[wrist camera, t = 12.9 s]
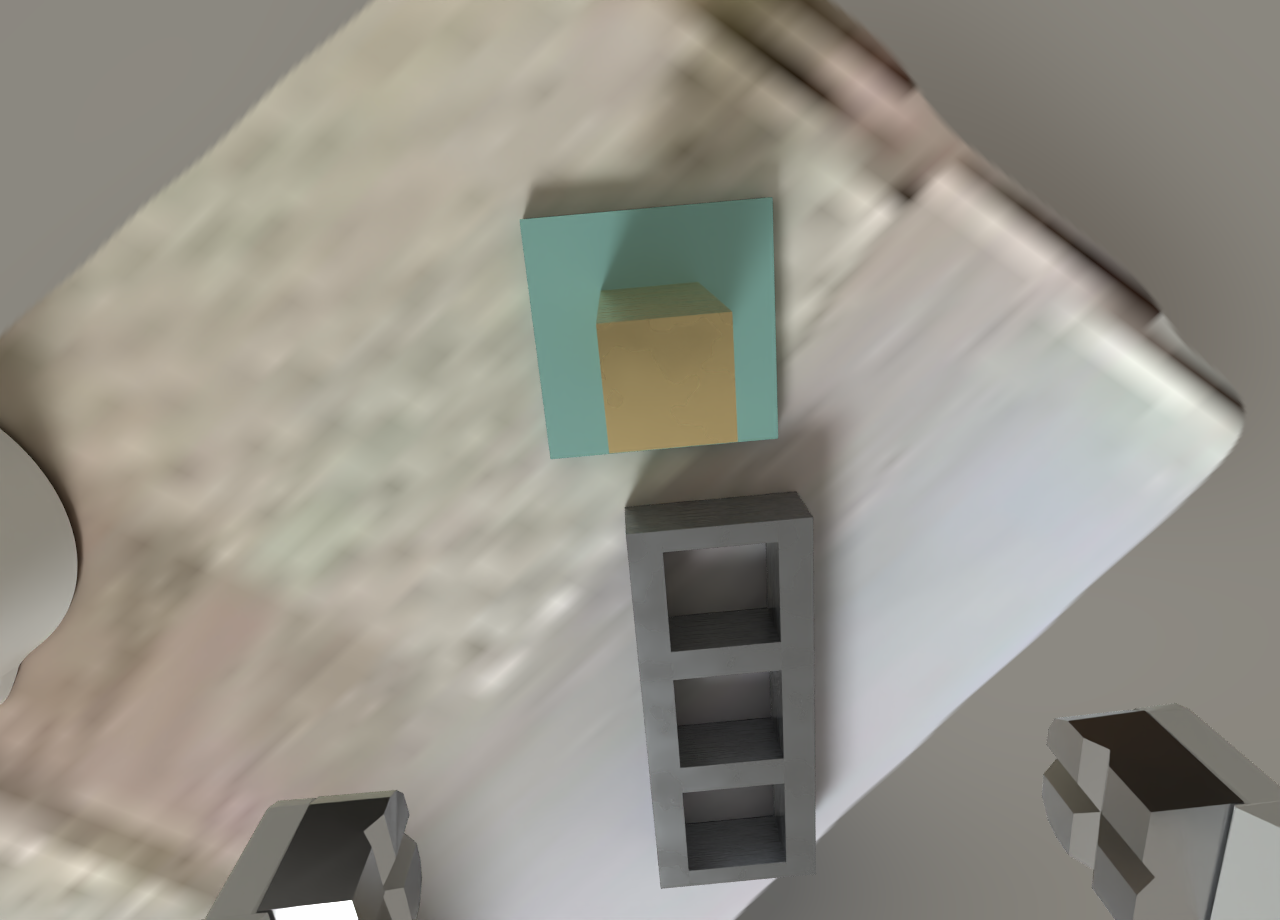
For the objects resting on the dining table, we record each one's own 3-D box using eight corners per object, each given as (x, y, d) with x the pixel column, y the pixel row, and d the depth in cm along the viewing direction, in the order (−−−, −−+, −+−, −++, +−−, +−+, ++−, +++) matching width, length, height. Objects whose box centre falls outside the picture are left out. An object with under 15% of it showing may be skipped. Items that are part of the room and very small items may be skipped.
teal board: (552, 452, 33) (550, 459, 32) (522, 219, 30) (519, 219, 29) (773, 431, 33) (778, 438, 32) (767, 197, 30) (772, 197, 29)
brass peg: (609, 386, 31) (609, 453, 23) (600, 290, 30) (595, 323, 22) (703, 378, 31) (737, 441, 23) (698, 281, 30) (732, 311, 22)
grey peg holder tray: (657, 841, 41) (660, 888, 38) (624, 507, 34) (625, 534, 31) (801, 827, 41) (815, 873, 38) (796, 491, 34) (812, 517, 32)
